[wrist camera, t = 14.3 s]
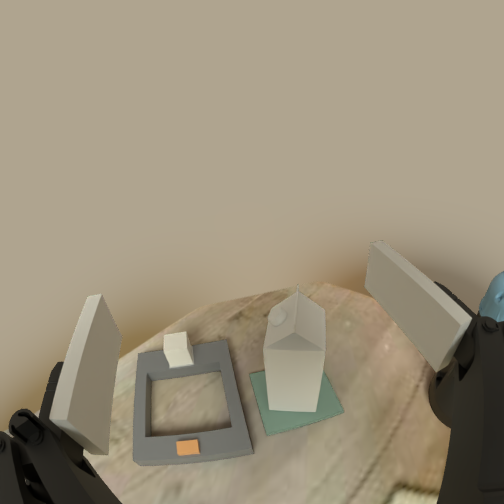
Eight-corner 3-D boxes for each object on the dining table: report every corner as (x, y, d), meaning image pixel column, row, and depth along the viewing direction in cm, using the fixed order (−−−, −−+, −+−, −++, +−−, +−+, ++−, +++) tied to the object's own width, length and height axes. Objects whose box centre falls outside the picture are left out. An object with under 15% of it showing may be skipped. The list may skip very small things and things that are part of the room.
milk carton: (317, 376, 42) (327, 284, 33) (315, 413, 36) (329, 325, 27) (274, 375, 44) (268, 283, 34) (268, 410, 38) (259, 323, 28)
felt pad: (316, 359, 46) (316, 356, 46) (343, 412, 36) (344, 410, 36) (249, 376, 45) (249, 374, 44) (266, 435, 34) (266, 434, 34)
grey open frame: (228, 348, 51) (222, 322, 47) (253, 453, 32) (248, 437, 28) (142, 361, 48) (130, 337, 45) (139, 465, 29) (119, 449, 26)
